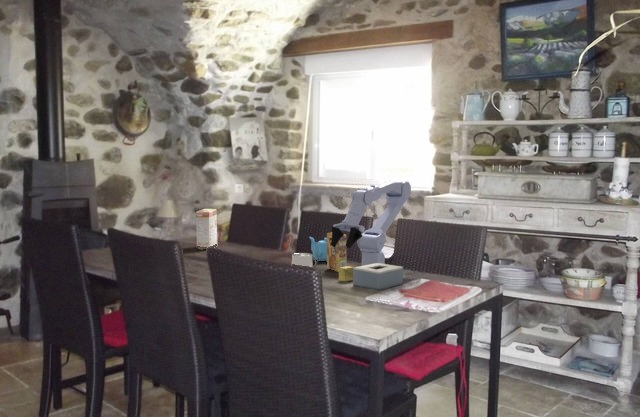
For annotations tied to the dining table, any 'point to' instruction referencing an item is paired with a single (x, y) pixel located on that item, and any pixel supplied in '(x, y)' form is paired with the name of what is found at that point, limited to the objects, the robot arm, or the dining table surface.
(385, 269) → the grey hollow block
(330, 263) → the candy box
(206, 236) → the coffeecake box
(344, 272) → the gold block
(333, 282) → the dining table surface
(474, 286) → the dining table surface
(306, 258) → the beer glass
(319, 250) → the teapot
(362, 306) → the dining table surface
